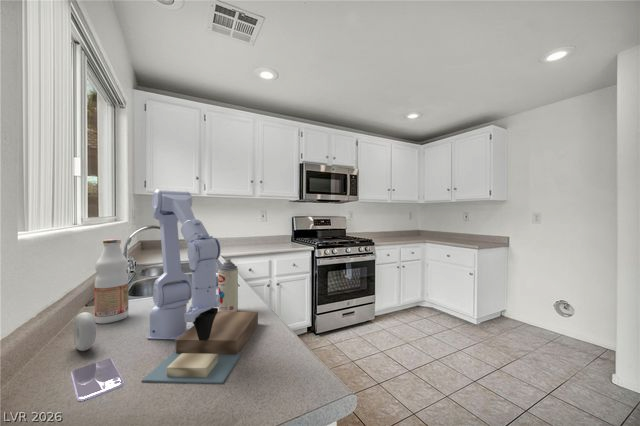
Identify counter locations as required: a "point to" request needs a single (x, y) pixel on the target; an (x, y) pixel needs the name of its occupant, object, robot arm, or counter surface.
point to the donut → (84, 331)
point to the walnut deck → (220, 334)
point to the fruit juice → (111, 284)
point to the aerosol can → (228, 287)
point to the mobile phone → (95, 379)
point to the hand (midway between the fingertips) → (204, 339)
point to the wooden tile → (192, 365)
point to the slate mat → (215, 376)
